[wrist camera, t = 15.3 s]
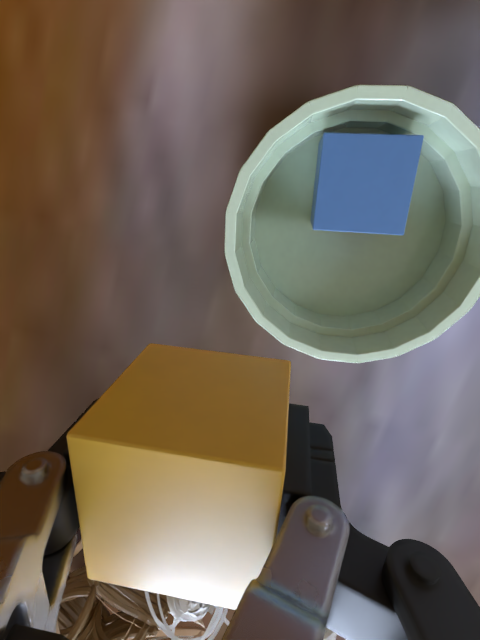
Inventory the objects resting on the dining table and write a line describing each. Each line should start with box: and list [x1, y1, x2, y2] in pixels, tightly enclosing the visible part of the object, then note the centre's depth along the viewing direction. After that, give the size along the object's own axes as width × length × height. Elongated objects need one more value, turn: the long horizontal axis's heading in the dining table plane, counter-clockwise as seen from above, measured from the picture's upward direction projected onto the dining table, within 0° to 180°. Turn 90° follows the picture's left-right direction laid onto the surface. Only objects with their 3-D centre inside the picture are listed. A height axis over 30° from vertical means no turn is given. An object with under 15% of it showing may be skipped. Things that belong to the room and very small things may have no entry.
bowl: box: [224, 85, 480, 363], centre depth 21 cm, size 14×14×6 cm
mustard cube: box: [66, 343, 291, 610], centre depth 10 cm, size 5×5×5 cm
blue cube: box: [310, 132, 424, 235], centre depth 20 cm, size 5×5×5 cm
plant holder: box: [56, 539, 337, 640], centre depth 31 cm, size 28×35×16 cm
